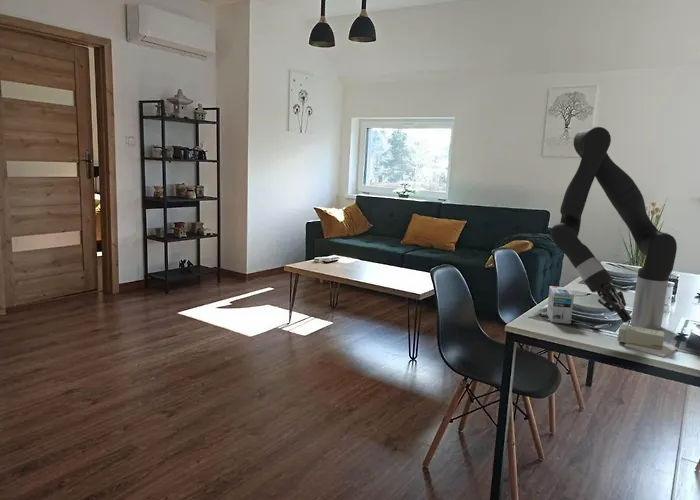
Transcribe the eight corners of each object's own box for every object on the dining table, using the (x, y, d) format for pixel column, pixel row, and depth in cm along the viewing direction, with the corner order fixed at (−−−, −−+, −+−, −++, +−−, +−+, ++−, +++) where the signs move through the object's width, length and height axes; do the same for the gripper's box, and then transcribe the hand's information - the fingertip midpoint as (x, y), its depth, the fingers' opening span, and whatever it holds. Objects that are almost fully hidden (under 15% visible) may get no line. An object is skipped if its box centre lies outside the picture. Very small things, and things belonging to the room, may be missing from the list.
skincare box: (616, 341, 163) (662, 350, 156) (618, 328, 162) (664, 336, 155) (619, 336, 168) (663, 345, 161) (621, 323, 167) (665, 331, 161)
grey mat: (639, 339, 168) (639, 337, 167) (677, 349, 159) (677, 347, 159) (624, 346, 161) (624, 344, 160) (663, 357, 152) (663, 355, 152)
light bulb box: (571, 324, 180) (574, 294, 178) (550, 322, 181) (554, 292, 179) (565, 315, 190) (568, 287, 189) (545, 313, 192) (548, 285, 190)
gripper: (593, 270, 162) (629, 318, 155) (612, 266, 170) (647, 311, 163) (575, 283, 167) (608, 330, 160) (594, 278, 175) (627, 323, 168)
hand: (628, 320), depth 162 cm, fingers closed
